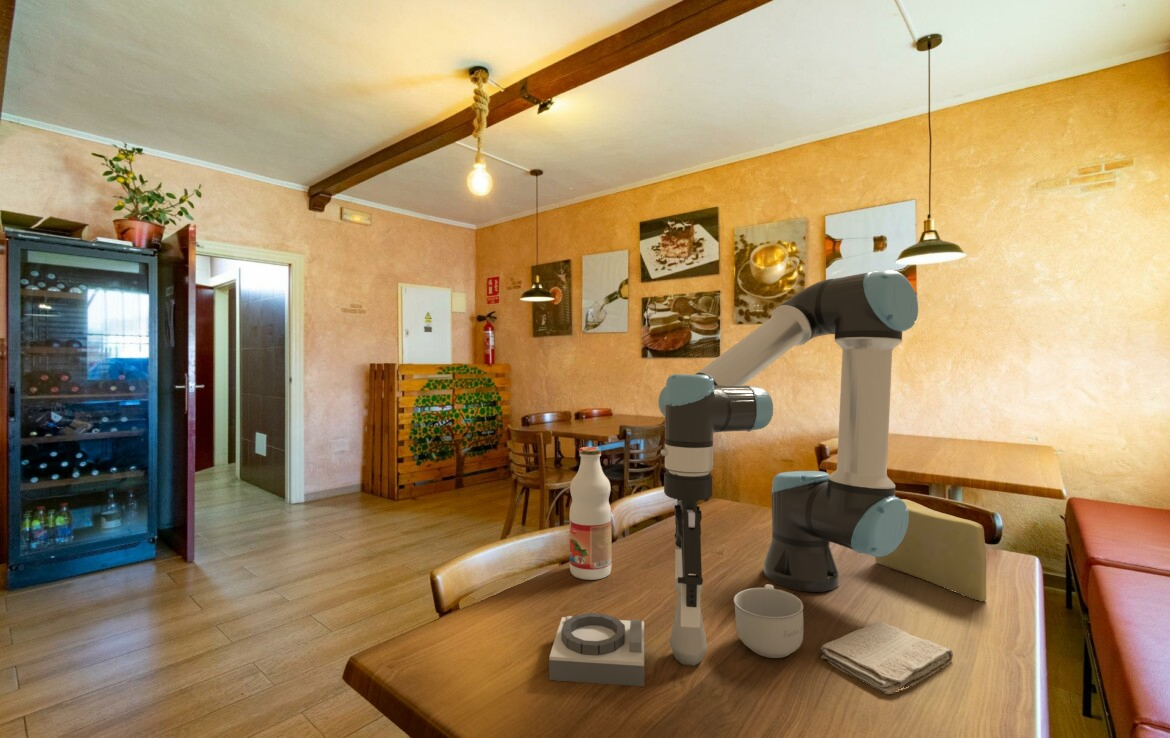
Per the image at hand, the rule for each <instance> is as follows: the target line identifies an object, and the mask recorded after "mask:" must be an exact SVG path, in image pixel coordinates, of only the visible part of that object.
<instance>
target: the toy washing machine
mask: <svg viewBox="0 0 1170 738" xmlns="http://www.w3.org/2000/svg"><path fill="white" fill-rule="evenodd" d="M548 660H549V663H548V664H549V668H548V670H549V681H559V682H571V683H573V682H575V683H585V684H586V683H589V684H601V685H602V684H603V685H617V686H629V687H630V686H633V687H634V686H635V687H645V621H642V619H635V618H634V619H630V620H623V619H619V618H618V617H616V616H612V615H609V614H606V613H602V612H601V613H599V612H585V613H581V614H575V615H573V616H571V615H567V616H562V617H561V620H560V622H559V626H558V628H557V631H556V635H555V638H554V642H553V643H552V648H551V650H550V654H549V659H548Z"/></svg>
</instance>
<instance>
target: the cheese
mask: <svg viewBox="0 0 1170 738" xmlns="http://www.w3.org/2000/svg"><path fill="white" fill-rule="evenodd" d="M900 499H901V498H900ZM901 500H902V501H904V503H905V504H906V508H907V509H908V512H909V523H908V528H907V531H906V534H905V536H904V538H903V540H902V542H901V543H900V544H899V546H898V547H897V548H896V549H895V550H894V551H893V552H892V553H890V554H888V555H886V556H882V557H876V556H874V557H875V561H874V562H876V564H878V565H880V566H883V567H886V568H890V569H892V570H895V571H898V572H901V573H903V574H906V573H907V575H909V576H913V577H915V578H917V577H918V579H920V578H921V580H923V581H925V580H926V581H925V582H928V581H929V582H928V583H930V582H932V583H931V584H933V583H934V584H933V585H935V584H937V585H936V586H938V585H939V586H938V587H940V586H942V587H945V588H948V589H950V590H953V591H956V592H958V593H960V594H963V595H965V596H967V597H966V598H968V597H970V598H973V599H975V600H974V601H976V600H979V601H978V602H984V601H986V600H987V553H986V552H987V551H986V542H985V530H984V526H983V525H982V524H980V523H978V522H976V521H973V520H971V519H965V518H961V517H957V516H954V515H951V514H947V513H943V512H940V511H937V510H934V509H931V508H928V507H927V506H924V505H922V504H920V503H917V502H915V501H912V500H909V499H907V498H906V499H903V498H902V499H901ZM942 587H941V588H942ZM945 588H944V589H945ZM950 590H949V591H950ZM960 594H959V595H960ZM963 595H962V596H963ZM965 596H964V597H965ZM970 598H969V599H970ZM973 599H972V600H973Z"/></svg>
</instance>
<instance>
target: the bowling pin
mask: <svg viewBox="0 0 1170 738" xmlns="http://www.w3.org/2000/svg"><path fill="white" fill-rule="evenodd" d="M688 575H691V574H688ZM682 576H683V574H682V575H679V576H678V577H682ZM678 577H677V578H676V579H675V578H674V590H675V592H676V593H677V594H678V595H677V599H676V600H677V601H676V605H675V606H676V607H675V611H674V617H673V622H672V623H673V624H672V628H671V629H672V630H671V635H670V639H669V640H670V641H669V645H670V648H671V649H670V650H671V651H672V654H673V656H674V659H675V660H676V661H678V662H679V663H680V664H681V665H685V666H694V667H695V666H696V665H698V664H699V663H701V662H702V661H703V659H704V656H705V654H706V652H707V650H708V649H707V648H708V645H707V643H708V642H707V638H706V633H705V627H704V622H703V616H702V610H701V608H700V628H695V627H681V583H678ZM702 591H703V584H702V585H700V595H701V594H702Z"/></svg>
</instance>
